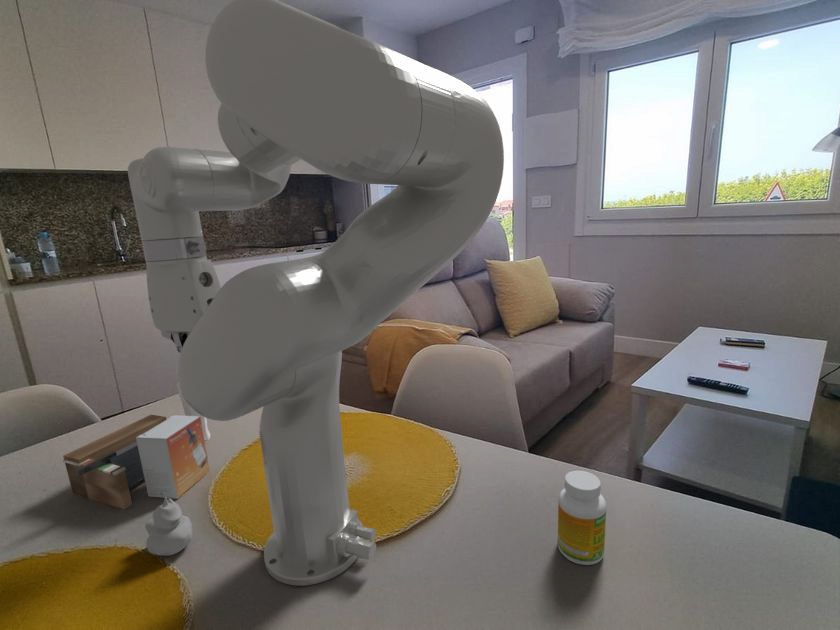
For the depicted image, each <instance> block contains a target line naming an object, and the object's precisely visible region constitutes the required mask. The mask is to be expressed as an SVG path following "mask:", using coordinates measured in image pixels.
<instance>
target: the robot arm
mask: <svg viewBox="0 0 840 630" xmlns="http://www.w3.org/2000/svg"><path fill="white" fill-rule="evenodd" d="M204 55H205V56H204V58H205V59H204V60H205V61H204V62H205V70H206V75H207V79H208V81H209V84H210V87H211V89H212V90H213V92H214V94H215V96H216V98H217V99H218V101H220V106H219V109H218V111H217V126H218V130H219V133H220V137H221V139H222V142H223V143H224V145H225V147H226V148H227V149H228V151H229V152H228V151H219V150H218V151H217V150H207V149H198V148H185V147H176V146H175V147H174V146H172V147H171V146H161V147H159V146H158V147H155V148H153V149H151V150H150V151H148V152H147V153H146V154H145V155H144V157H143V158H138V159H134V160H131V162H130V163H129V164H128V167H127V175H128V180H129V186H130V191H131V196H132V200H133V205H134V210H135V214H136V220H137V225H138V230H139V231H138V232H139V235H140V240H141V245H142V249H143V255H144V259H145V263H146V265H145V266H146V272H145V273H146V286H147V294H148V302H149V303H148V304H149V307H150V313H151V318H152V321H153V322H152V323H153V325H154V327H155V328H156V329H157V330H158V331H160V332H161V333H160V334H161V336H162V337H163V338H165V339H166V340H171V341H172V342H173V343H174V344H175V347H176V348H175V349H176V351H177V353H179V358H178V364H177V365H178V367H177V378H178V382H179V385H180V389H181V392H182V394H183V396H184V398H185V400H186V402H187V403H188V404H189V405H190V407H191V408H192V409H193V410H195V411H196V412H197V413H199V414H200V415H202V416H204V417H206V419H209V420H213V421H217V422H226V421H227V422H228V421H232V420H236V419H238V418H241V417H244V416H245V415H249V414H251V413H252V412H255V411H257V410H258V409H259V410H260V409H261V408H262V410H261V411H262V412H261V416H260V420H259V421H260V422H259V440H260V447H261V453H262V460H263V467H264V472H265V479H266V480H265V482H266V488H267V494H268V495H267V496H268V501H269V507H270V513H271V521H272V528H273V532H272V533H271V535H270V536H269V537H268V539H267V540H266V543H265V546H264V548H263V549H264V550H263V558H264V559H263V560H264V564H265V565H264V566H265V568H266V571H267V572H268V574H269V575H270V576H271V577H272V578H273V579H275V580H276V581H278V582H280V583H282V584H285V585H286V584H287V585H291V586H311V585H316V584H319V583H320V584H321V583H323V582H326V581H328V580H329V581H330V580H331V579H333V578H335V577H337V576H338V575H340V574H342V573H344V571H346V570H347V569H348V568H349V567H351V566H352V565H353V564H354V562H355V561H357V560H358V558H359V559H362V560H366V561H373V559H374V558H375V556H376V552H377V543H376V542H374V541H375V538H376V537H377V536H376V535H377V530H376V529H375V528H373V527H372V528H371V527H367V526H363V523H362V522H361V520H360V519H359V518H358V510H357V509H351V508H350V501H349V493H348V482H347V474H346V472H347V471H346V462H345V453H344V443H343V434H342V433H343V430H342V423H341V422H342V421H341V411H340V410H341V409H340V380H341V379H340V378H341V369H342V361H343V360H342V358H343V357H342V356H343V353H342V352H343V351H344V350H347V349H348V348H350V347H353V346H354V345H357V344H359V343H360V342H361V341H362V340H364V339H365V338H366V337H367V336H368V335H370V333H371V332H373V330H375V329H376V328H377V327H378V326H379V325H380V324H381V323H382V322H383V321H385V319H387V318H388V317H389V316H390V315H392V314H393V313H394V312H396V310H398V309H399V308H400V307H401V306H402V305H403V304H405V303H406V302H407V301H408V300H410V298H411V297H413V296H414V295H415V294H416V293H417V292H418V291H419V290H420V289H421V288H423V286H425V284H427V283H429V281H431V280H432V278H434V277H435V276H436V275H437V274H439V273H440V272H441V271H442V270H443V269H444V268H446V267H447V266H448V265H449V264H450V263H451V262H452V261H454V259H456V258H457V257H458V256H459V254H460V253H462V252H463V251H464V250H465V249H466V248H467V246H469V244H470V243H471V242H472V241H473V239H474V238H475V237H476V236H477V235H478V233H479V232H480V230H481V229H482V228H483V226H485V223H486V222H487V220H488V218H489V216H490V214H491V213H492V212H493V208H494V206H495V204H496V201H497V199H498V196H499V192H500V190H501V186H502V180H503V176H504V162H505V157H504V156H505V151H504V150H505V148H504V141H503V136H502V135H503V134H502V131H501V129H500V124H499V122H498V119H497V117H496V115H495V113H494V111H493V110H492V108H491V106H490V104H489V103H488V102H487V101H486V100H485V99H484V98H483V96H482V95H480V94H479V92H477V91H476V90H475V89H473V88H472V87H471V86H470V85H468V84H466V83H465V82H463V81H462V80H460V79H458V78H456V77H454V76H452V75H451V74H448V73H446V72H444V71H442V70H439V69H436V68H434V67H432V66H430V65H426V64H424V63H422V62H419V61H417V60H415V59H414V58H412V57H408V56H407V55H404V54H402V53H400V52H397V51H395V50H393V49H392V48H389V47H386V46H384V45H382V44H380V43H378V42H375V41H373V40H371V39H368V38H366V37H362V36H361V35H359V34H355V33H352V32H350V31H348V30H346V29H343V28H341V27H339V26H337V25H334V24H333V23H331V22H328V21H325V20H324V19H321V18H319V17H317V16H314V15H313V14H310V13H308V12H306V11H303V10H301V9H299V8H296V7H295V6H292V5H290V4H288V3H285V2H283V1H281V0H230V2H228V3H227V4H226V5H224V6H223V8H222V9H221V10H220V11H219V13H218V14H217V15H216V17H215V18H214V20H213V22H212V24H211V26H210V29H209V31H208V34H207V37H206V42H205V53H204ZM301 160H302V161H304V162H306V163H307V164H308V165H310V166H312V167H314V168H315V169H317V170H319V171H321V172H322V173H325V174H327V175H329V176H331V177H334V178H338V179H339V180H342V181H346V182H353V183H358V184H367V185H384V186H385V185H386V186H387V185H388V186H389V185H390V186H396V187H395V188H394V189H392V191H390V192H389V193H387V194H386V195H385V196H384V197H382V198H380V199H379V200H378V201H376V202H375V203H373V204H371V205H370V206H368V207H367V208H366V209H365V210H363V211H362V212H361V213H360V214H358V216H356V218H354V219H353V220H352V222H351V223H350V224H349V226H348V227H347V228H346V229H345V231H344V232H343V233H342V234H341V235H340V236H339V237H338V238H337V240H335V241H334V243H332V245H330V246H329V247H328V248H327V249H325V250H324V251H323V252H321V253H318V254H316V255H312V256H307V257H303V258H298V259H292V260H291V259H289V260H284V261H278V262H271V263H270V262H269V263H265V264H260V265H257V266H253V267H252V266H251V267H250V268H248V269H244V270H242V271H241V272H239V273H237V274H236V275H234V276H233V277H231V278H230V279H229V280H227V281H226V282H225V283H224V284H222V286H221V284H220V281H219V276H218V274H217V272H216V269H215V266H214V264H213V263H212V260H211V259H208V257H207V245H206V243H205V239H204V236H203V228H202V223H201V219H200V218H201V217H200V213H199V212H213V211H214V212H216V211H220V212H221V211H225V212H226V211H244V210H250V209H253V208H255V207H258V206H260V205H262V204H263V203H266V202H267V201H269V200H271V199H273V198H274V197H277V196H278V195H279V194H281V192H283V190H284V189H285V188H286V185H287V182H288V180H289V178H290V174H291V171H292V170H291V169H292V165H294V164H296V163H297V162H299V161H301Z"/></svg>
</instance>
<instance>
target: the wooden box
mask: <svg viewBox="0 0 840 630" xmlns="http://www.w3.org/2000/svg"><path fill="white" fill-rule="evenodd" d="M167 419H168V418H167V416H163V415H156V414H149V415H147V416H144V417H143V418H140V419H139V420H136V421H134V422H132V423H130V424H128V425H126V426H124V427H122V428H120V429H119V428H118V429H117V430H115V431H113V432H111V433H108V434H106V435H103V436H102V437H99V438H97V439H96V440H94V441H92V442H89V443H87V444H85V445H83V446H81V447H78V448H77V449H74V450H72V451H70V452H68V453H65V454H64V455H62V458H63V459H62V463H64V465H65V469H66V472H67V476H68V479H69V485H70V488H71V491H72V495H74V496H78V497H80V498H81V497H82V498H85V499H88V500H92V501H95V502H99V503H102V504H105V505H109V506H112V507H116V508H118V509H123V510H126V509H127V508H130V507H131V506H133V502H132V497H131V492H130V487H128V483H127V479H126V475H125V469H126V468H125V467H123V466H117V465H114V464H110V463H104V464H102V465H100V466H98V467H96V468H94V469H92V470H90V471H88V472H87V473H85V474H83V475H81V476H76V474H75V470H77V469H79V468H81V467H83V466H85V465H87V464H89V463H91V462H93V461H95V460H97V459H99V458H101V457H103V456H105V455H107V454H109V453H111V452H113V451H114V452H117V451H119V450H120V449H122V448H124V447H126V446H128V445H130V444H132V443H134V442H136V437H138V436H140V435H142V434H144V433H145V432H147V431H149V430H150V429H152V428H154V427H155V426H157V425H159V424H160V423H162V422H164V421H165V420H167Z"/></svg>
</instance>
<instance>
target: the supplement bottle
mask: <svg viewBox="0 0 840 630" xmlns="http://www.w3.org/2000/svg"><path fill="white" fill-rule="evenodd" d="M601 483H602V482H601V480H600V478H599V477H597V476H596V475H595V474H593V473H591V472H589V471H586V470H572V471H569V472H567V473H566V474H565V476H564V488H563V489H562V490H561V491H560V493H559V495H558V507H557V510H558V511H557V513H558V514H557V516H558V517H557V547H558V549H559V552H560V553H561V554H562V555H563V556H564V558H566V559H567V560H568V561H570V562H573V563H575V564H577V565H583V566H590V565H595V564H598V563H599V562H600V561H602V559H603V558H604V556H605V555H604V554H605V541H606V538H605V537H606V523H607V521H606V520H607V502H606V499H605V497H604V496H603V494H601V489H602V488H601Z"/></svg>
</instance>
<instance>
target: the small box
mask: <svg viewBox="0 0 840 630" xmlns="http://www.w3.org/2000/svg"><path fill="white" fill-rule="evenodd" d="M166 419H167V420H165V421H164V422H162V423H160V424H159V425H157V426H155V427H154V428H152V429H150V430H149V431H147V432H145V433H144V434H142V435H140V436H138V437H136V441H137V445H138V450H139V455H140V459H141V464H142V469H143V473H144V478H143V479H144V482H145V487H146V491H147V495H148V497H151V498H161V499H162V498H163V499H165V496H166V497H167V499H168V498H170V499H172V500H174V499H175V500H178V499H179V498H181V496H182V495H184V494H185V493H186V492H187V491H188V490H190V489H191V488H192V487H193V486H194V485H196V484H197V483H198V482H199V481H200V480H202V479H203V478H204V477H205V476H207V475H208V474H209V473H210V471H211V470H210V464H209V459H208V452H207V447H206V442H205V440H204V435H203V429H202V423H201V418H200V417H199V416H185V415H176V414H174V415H173V414H172V415H171V416H169V418H166Z"/></svg>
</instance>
